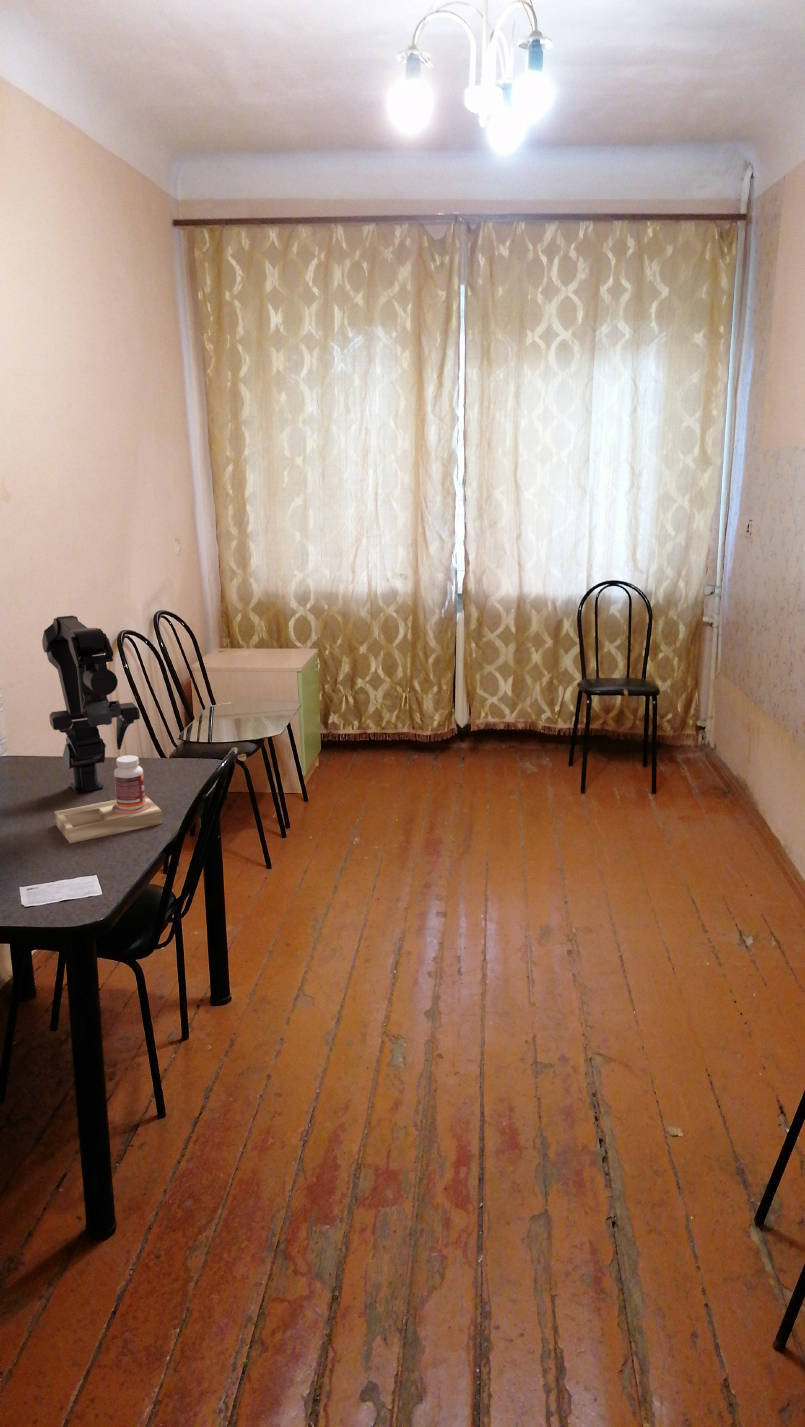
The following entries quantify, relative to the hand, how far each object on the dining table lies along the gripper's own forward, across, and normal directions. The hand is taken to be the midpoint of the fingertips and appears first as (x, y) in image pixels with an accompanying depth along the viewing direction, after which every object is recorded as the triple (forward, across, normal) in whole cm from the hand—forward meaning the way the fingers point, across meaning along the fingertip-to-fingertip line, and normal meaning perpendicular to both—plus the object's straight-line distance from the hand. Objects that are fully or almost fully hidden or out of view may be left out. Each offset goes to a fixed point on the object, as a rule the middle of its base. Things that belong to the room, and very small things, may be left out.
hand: (98, 752), depth 217 cm
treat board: (+13, -1, -12) cm, 17 cm away
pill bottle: (+10, +4, -12) cm, 16 cm away
